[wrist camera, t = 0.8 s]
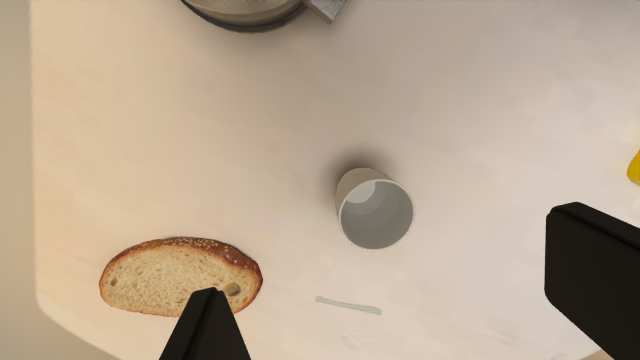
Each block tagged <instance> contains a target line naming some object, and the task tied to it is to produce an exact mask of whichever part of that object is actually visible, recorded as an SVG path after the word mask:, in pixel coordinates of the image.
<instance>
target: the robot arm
mask: <svg viewBox="0 0 640 360" xmlns="http://www.w3.org/2000/svg"><path fill="white" fill-rule="evenodd" d="M544 290H545V295H546V297H547V299H548V300H549V302H550V303H551V304H552V305H553V306H554V307H555V308H557V309H558V310H559V311H560V312H561V313H562V314H563V315H564V316H566V317H567V318H568V319H569V320H570V321H571V322H572V323H574V324H575V325H576V326H577V327H578V328H579V329H580V330H581V331H583V332H584V333H585V334H586V335H587V336H588V337H589V338H590V339H592V340H593V341H594V342H595V343H596V344H597V345H598V346H600V347H601V348H602V349H603V350H604V351H605V352H606V353H607V354H609V355H610V356H611V357H612V358H613V359H614V360H640V228H638V227H635V226H633V225H631V224H628V223H626V222H624V221H622V220H619V219H617V218H615V217H612V216H610V215H608V214H605V213H603V212H601V211H599V210H596V209H594V208H592V207H589V206H587V205H585V204H583V203H580V202H572V203H568V204H564V205H559V206H555V207H553V208H552V209H551V211H550V213H549V214H548V215H547V217H546V244H545V285H544ZM159 360H251V358H250V355H249V353H248V350H247V348H246V345H245V343H244V340H243V338H242V335H241V333H240V330H239V328H238V325H237V323H236V320H235V318H234V315H233V313H232V310H231V308H230V305H229V303H228V300H227V298H226V295H225V293H224V292H223V291H222V290H220V291H218V290H217V288H216V287H210V288H205V289H201V290H197V291H194V292H193V293H192V294H191V296H190V298H189V300H188V302H187V304H186V306H185V308H184V310H183V312H182V314H181V316H180V318H179V320H178V322H177V324H176V326H175V328H174V330H173V332H172V334H171V336H170V338H169V340H168V342H167V344H166V346H165V348H164V350H163V352H162V354H161V357H160V358H159Z"/></svg>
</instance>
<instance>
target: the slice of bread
mask: <svg viewBox="0 0 640 360" xmlns="http://www.w3.org/2000/svg"><path fill="white" fill-rule="evenodd" d="M262 283H263V278H262V275H261V271H260V268H259V266H258V264H257V263H256V262H255V261H253V260H250V259H249V258H247V257H245V256H244V255H242V254H241V253H240V252H239V251H237V250H236V249H234V248H233V247H231V246H228V245H226V244H223V243H220V242H218V241H214V240H206V239H200V238H192V237H189V238H186V237H177V238H173V239H169V240H161V239H156V240H152V241H147V242H143V243H141V244H138V245H136V246H133V247H130V248H128V249H126V250H124V251H123V252H121V253H120V254H118V255H117V256H116V257H115V258H113V259H112V260H111V261H110V262H109V263H108V264H107V266H106V268H105V269H104V271H103V274H102V276H101V279H100V281H99V287H100V293H101V297H102V298H103V300H104V301H105V302H106V303H107V304H109V305H110V306H111V307H116V308H119V309H124V310H127V311H131V312H140V313H143V314H152V315H160V316H167V317H180V316H181V314H182V312H183V310H184V308H185V306H186V304H187V302H188V300H189V298H190V296H191V294H192V293H193V292H194V291H197V290H201V289H205V288H210V287H216V288H217V290H218V291H220V290H222V291H223V292H224V293H225V295H226V298H227V300H228V303H229V305H230V308H231V310H232V313H233V314H235V313H237V312H239V311H241V310H243V309H244V308H246V307H247V306H248V305H249V304H250V303H251V302H252V301H253V300H254V299H255V298H256V296H257V294H258V292H259V290H260V288H261V286H262Z"/></svg>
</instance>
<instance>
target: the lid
mask: <svg viewBox="0 0 640 360" xmlns="http://www.w3.org/2000/svg"><path fill="white" fill-rule="evenodd" d="M188 1H190V2H192V3H194V4H197V5H200V6H203V7H205V8H208V9H211V10H215V11H220V12H225V13H233V14H249V13H257V12H263V11H266V10H269V9H273V8H276V7H278V6H280V5H282V4H284V3H286V2H288V1H290V0H188Z"/></svg>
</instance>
